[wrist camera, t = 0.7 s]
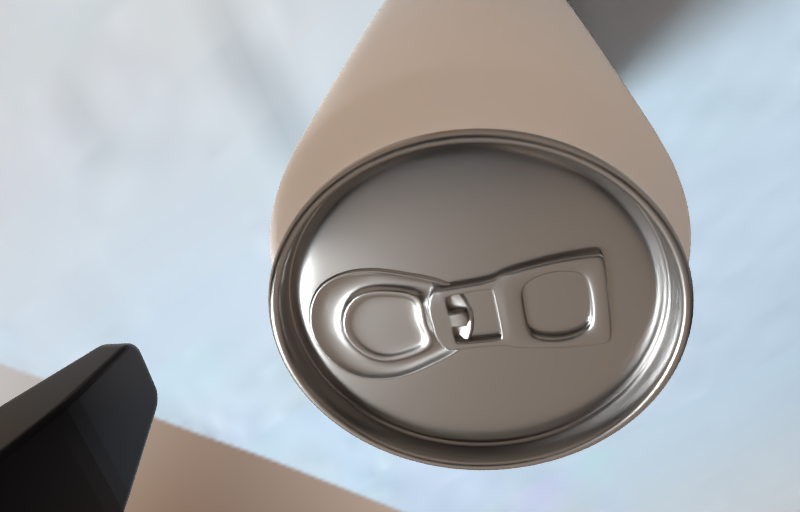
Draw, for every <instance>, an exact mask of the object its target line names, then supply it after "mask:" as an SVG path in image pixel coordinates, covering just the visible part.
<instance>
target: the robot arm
mask: <svg viewBox="0 0 800 512" xmlns="http://www.w3.org/2000/svg"><path fill="white" fill-rule="evenodd" d="M156 407H157V390H156V387H155V385H154V382H153V380H152V378H151V375H150V373H149V371H148V369H147V366H146V364H145V362H144V360H143V357H142V355H141V353H140V351H139V349H138V348H137V347H136V346H135V345H133V344H129V343H124V344H105V345H102V346H100V347H98V348H96V349H94V350H93V351H91V352H89V353H88V354H86V355H84V356H83V357H81V358H80V359H78V360H76V361H75V362H73V363H71V364H70V365H68V366H66V367H65V368H63V369H61V370H60V371H58V372H56V373H55V374H53V375H52V376H50V377H48V378H47V379H45V380H43V381H42V382H40V383H38V384H37V385H35V386H34V387H32V388H30V389H28V390H27V391H25V392H24V393H22V394H20V395H19V396H17V397H15V398H14V399H12V400H10V401H9V402H7V403H5V404H4V405H2V406H1V407H0V512H124V509H125V506H126V504H127V501H128V498H129V495H130V492H131V488H132V485H133V482H134V479H135V475H136V472H137V469H138V466H139V462H140V459H141V456H142V453H143V450H144V446H145V443H146V440H147V437H148V433H149V430H150V427H151V423H152V421H153V417H154V414H155V411H156Z"/></svg>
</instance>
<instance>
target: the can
mask: <svg viewBox="0 0 800 512" xmlns="http://www.w3.org/2000/svg"><path fill="white" fill-rule="evenodd" d="M690 245H691V230H690V218H689V212H688V206H687V202H686V198H685V194H684V191H683V188H682V185H681V182H680V180H679V177H678V174H677V171H676V169H675V167H674V165H673V162H672V160H671V158H670V156H669V154H668V153H667V151H666V149H665V147H664V146H663V144H662V142H661V140H660V139H659V137H658V135H657V134H656V132H655V130H654V129H653V127H652V126H651V124H650V122H649V121H648V119H647V118H646V116H645V115H644V113H643V112H642V110H641V109H640V107H639V106H638V104H637V103H636V101H635V100H634V98H633V97H632V95H631V94H630V92H629V91H628V89H627V88H626V86H625V85H624V83H623V82H622V80H621V79H620V77H619V76H618V74H617V73H616V71H615V70H614V68H613V67H612V65H611V64H610V62H609V61H608V59H607V58H606V57H605V55H604V54H603V52H602V51H601V49H600V48H599V46H598V45H597V43H596V42H595V40H594V39H593V38H592V36H591V35H590V33H589V32H588V30H587V29H586V27H585V26H584V25H583V23H582V22H581V20H580V19H579V17H578V16H577V15H576V13H575V12H574V11H573V9H572V8H571V6H570V5H569V4H568V3H567V1H566V0H386V1H385V2H384V4H383V5H382V6H381V8H380V9H379V10H378V12H377V13H376V15H375V16H374V18H373V19H372V21H371V22H370V24H369V26H368V27H367V29H366V30H365V32H364V34H363V35H362V37H361V39H360V40H359V42H358V43H357V45H356V47H355V48H354V50H353V52H352V53H351V55H350V57H349V58H348V60H347V62H346V63H345V65H344V67H343V68H342V70H341V72H340V73H339V75H338V77H337V78H336V80H335V82H334V83H333V85H332V87H331V88H330V90H329V92H328V93H327V95H326V97H325V98H324V100H323V102H322V103H321V105H320V107H319V109H318V110H317V112H316V114H315V115H314V117H313V119H312V120H311V122H310V124H309V126H308V127H307V129H306V131H305V133H304V134H303V136H302V138H301V140H300V142H299V143H298V145H297V147H296V149H295V151H294V153H293V155H292V157H291V159H290V161H289V163H288V165H287V167H286V170H285V172H284V175H283V177H282V180H281V183H280V186H279V189H278V192H277V195H276V199H275V203H274V207H273V212H272V218H271V227H270V252H271V262H272V270H271V275H270V282H269V297H268V302H269V316H270V322H271V327H272V332H273V336H274V339H275V342H276V345H277V348H278V350H279V353H280V355H281V358H282V360H283V362H284V364H285V366H286V368H287V369H288V371H289V373H290V374H291V376H292V378H293V379H294V381H295V382H296V383H297V385H298V386H299V388H300V389H301V390H302V391H303V393H304V394H305V395H306V396H307V397H308V398H309V400H310V401H311V402H312V403H313V404H314V405H315V406H316V407H317V408H318V409H319V410H320V411H321V412H323V413H324V414H325V415H326V416H327V417H328V418H330V419H331V420H332V421H333V422H335V423H336V424H337V425H339V426H340V427H341V428H343V429H344V430H346V431H347V432H349V433H350V434H352V435H354V436H355V437H357V438H359V439H361V440H362V441H364V442H366V443H368V444H370V445H372V446H374V447H376V448H379V449H381V450H383V451H386V452H388V453H391V454H393V455H396V456H399V457H402V458H405V459H409V460H412V461H416V462H420V463H424V464H429V465H434V466H439V467H446V468H454V469H466V470H499V469H510V468H519V467H525V466H531V465H536V464H541V463H545V462H549V461H552V460H556V459H559V458H562V457H565V456H568V455H571V454H574V453H576V452H579V451H581V450H583V449H586V448H588V447H590V446H592V445H594V444H596V443H598V442H600V441H602V440H604V439H605V438H607V437H609V436H610V435H612V434H614V433H615V432H617V431H618V430H620V429H621V428H623V427H624V426H625V425H627V424H628V423H629V422H631V421H632V420H633V419H634V418H635V417H637V416H638V415H639V414H640V413H641V412H642V411H643V410H644V409H645V408H647V406H648V405H649V404H650V403H651V402H652V401H653V400H654V399H655V398H656V397H657V396H658V394H659V393H660V392H661V391H662V389H663V388H664V387H665V385H666V384H667V382H668V381H669V379H670V378H671V376H672V375H673V373H674V371H675V369H676V368H677V366H678V364H679V362H680V360H681V357H682V355H683V352H684V350H685V347H686V344H687V341H688V338H689V334H690V329H691V324H692V318H693V302H694V299H693V284H692V277H691V272H690V268H689V257H690Z"/></svg>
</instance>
